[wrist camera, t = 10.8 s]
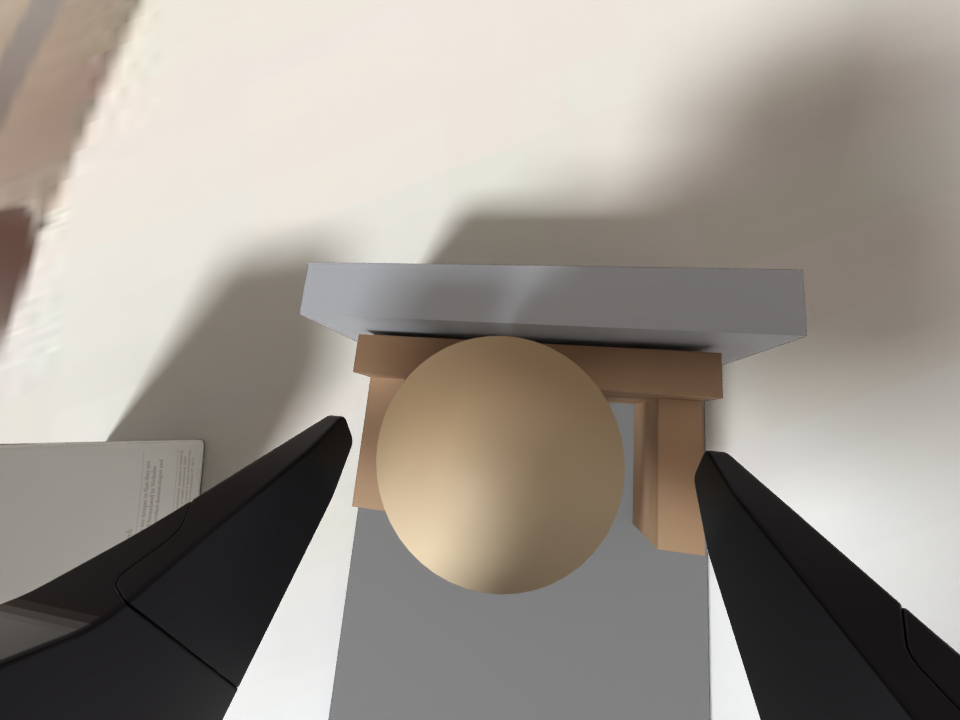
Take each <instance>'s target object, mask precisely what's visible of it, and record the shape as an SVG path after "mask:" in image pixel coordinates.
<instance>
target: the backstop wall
mask: <svg viewBox="0 0 960 720" xmlns="http://www.w3.org/2000/svg"><path fill="white" fill-rule="evenodd" d="M300 315H302V316H304V317H306V318H308V319H310V320H313V321H315V322H317V323H319V324H321V325H323V326H325V327H327V328H329V329H331V330H333V331H336V332H338V333H340V334H342V335H344V336H346V337H348V338H350V339H352V340H354V341H356V342H358V336H359V334H367V335H386V336H405V337H425V338H444V339H463V340H469V339H473V338H478V337H486V336H510V337H518V338H523V339H527V340H531V341H535V342H537V343H541V344H560V345H579V346H599V347H618V348H637V349H657V350H676V351H695V352H715V353H722V365H724V364H727V363H730V362H733V361H736V360H739V359H742V358H745V357H748V356H750V355H753V354H756V353H759V352H762V351H765V350H768V349H771V348H774V347H776V346H779V345H782V344H785V343H788V342H791V341H794V340H797V339H800V338H802V337H805V336H807V330H806V315H805V300H804V285H803V270H791V269H726V268H661V267H595V266H530V265H465V264H400V263H334V262H309V264H308V270H307V275H306V281H305V286H304V292H303V297H302V303H301V308H300Z"/></svg>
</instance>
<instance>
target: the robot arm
mask: <svg viewBox="0 0 960 720" xmlns="http://www.w3.org/2000/svg"><path fill="white" fill-rule="evenodd" d="M351 446H352V436H351V433H350V430H349V427H348V424H347V421H346V419H345V418H344V417H342V416H332V415H331V416H327V417H325V418H324V419H322V420H321V421H319V422H317V423H316V424H314V425H313V426H311V427H309V428H308V429H306V430H304V431H303V432H301V433H300V434H298V435H296V436H295V437H293V438H292V439H290V440H288V441H287V442H285V443H284V444H282V445H280V446H279V447H277V448H275V449H274V450H272V451H271V452H269V453H267V454H266V455H264V456H263V457H261V458H259V459H258V460H256V461H254V462H253V463H251V464H250V465H248V466H246V467H245V468H243V469H242V470H240V471H238V472H237V473H235V474H233V475H232V476H230V477H229V478H227V479H225V480H224V481H222V482H221V483H219V484H217V485H216V486H214V487H212V488H211V489H209V490H208V491H206V492H204V493H203V494H201V495H200V496H198V497H196V498H195V499H193V500H192V502H188V503H186V504H185V505H183V506H182V507H180V508H178V509H177V510H175V511H174V512H172V513H170V514H169V515H167V516H165V517H164V518H162V519H160V520H159V521H157V522H155V523H154V524H152V525H150V526H149V527H147V528H145V529H144V530H142V531H140V532H138V533H136V534H135V535H133V536H131V537H129V538H128V539H126V540H124V541H122V542H121V543H119V544H117V545H115V546H113V547H112V548H110V549H108V550H106V551H104V552H102V553H101V554H99V555H97V556H95V557H93V558H92V559H90V560H88V561H86V562H84V563H82V564H81V565H79V566H77V567H75V568H73V569H72V570H70V571H68V572H66V573H64V574H62V575H61V576H59V577H57V578H55V579H53V580H52V581H50V582H48V583H46V584H44V585H42V586H40V587H39V588H37V589H35V590H33V591H31V592H29V593H26V594H24V595H22V596H20V597H17V598H15V599H12V600H10V601H7V602H4V603H2V604H0V720H223V718H224V715H225V713H226V711H227V709H228V707H229V705H230V703H231V701H232V699H233V697H234V695H235V693H236V691H237V687H238V686H239V685H240V683H241V681H242V679H243V677H244V675H245V673H246V671H247V669H248V667H249V664H250V662H251V660H252V658H253V656H254V654H255V652H256V650H257V648H258V646H259V644H260V642H261V640H262V638H263V636H264V634H265V632H266V630H267V628H268V626H269V624H270V622H271V620H272V618H273V616H274V614H275V612H276V610H277V608H278V606H279V604H280V602H281V600H282V598H283V596H284V594H285V592H286V590H287V588H288V586H289V584H290V582H291V580H292V578H293V576H294V574H295V572H296V570H297V568H298V566H299V564H300V562H301V560H302V558H303V556H304V554H305V552H306V550H307V547H308V545H309V543H310V541H311V539H312V537H313V535H314V533H315V531H316V529H317V527H318V525H319V523H320V521H321V519H322V517H323V515H324V513H325V511H326V509H327V507H328V505H329V503H330V501H331V499H332V496H333V494H334V492H335V489H336V486H337V484H338V481H339V478H340V476H341V473H342V470H343V468H344V465H345V462H346V460H347V457H348V454H349V452H350V449H351ZM694 483H695V488H696V494H697V499H698V504H699V509H700V514H701V520H702V525H703V530H704V535H705V540H706V544H707V549H708V552H709V556H710V559H711V563H712V566H713V569H714V572H715V575H716V579H717V582H718V585H719V588H720V591H721V594H722V598H723V601H724V604H725V607H726V610H727V614H728V617H729V620H730V623H731V626H732V630H733V633H734V636H735V639H736V642H737V645H738V649H739V652H740V655H741V658H742V661H743V665H744V668H745V671H746V674H747V677H748V681H749V684H750V687H751V690H752V693H753V697H754V700H755V703H756V706H757V709H758V712H759V716H760V719H761V720H960V654H959V653H957V652H956V651H955V650H954V649H953V648H952V647H950V646H949V645H948V644H947V643H946V642H944V641H943V640H942V639H941V638H940V637H939V636H937V635H936V634H935V633H934V632H933V631H931V630H930V629H929V628H928V627H927V626H926V625H925V624H923V623H922V622H921V621H920V620H919V619H918V618H917V617H915V616H914V615H913V614H912V613H911V612H910V611H908V610H907V609H905V608H902V607H901V604H900V603H899V602H898V601H897V600H896V599H894V598H893V597H892V596H891V595H890V594H889V593H888V592H886V591H885V590H884V589H883V588H882V587H881V586H880V585H878V584H877V583H876V582H875V581H874V580H873V579H872V578H870V577H869V576H868V575H867V574H866V573H865V572H863V571H862V570H861V569H860V568H859V567H858V566H857V565H855V564H854V563H853V562H852V561H851V560H850V559H849V558H847V557H846V556H845V555H844V554H843V553H842V552H840V551H839V550H838V549H837V548H836V547H835V546H834V545H832V544H831V543H830V542H829V541H828V540H827V539H826V538H824V537H823V536H822V535H821V534H820V533H819V532H818V531H816V530H815V529H814V528H813V527H812V526H811V525H809V524H808V523H807V522H806V521H805V520H804V519H803V518H801V517H800V516H799V515H798V514H797V513H796V512H795V511H793V510H792V509H791V508H790V507H789V506H788V505H786V504H785V503H784V502H783V501H782V500H781V499H780V498H778V497H777V496H776V495H775V494H774V493H773V492H772V491H770V490H769V489H768V488H767V487H766V486H765V485H764V484H762V483H761V482H760V481H759V480H758V479H757V478H755V477H754V476H753V475H752V474H751V473H750V472H749V471H747V470H746V469H745V468H744V467H743V466H742V465H741V464H739V463H738V462H737V461H736V460H735V459H734V458H733V457H731V456H730V455H729V454H727V453H725V452H717V451H706V452H705V453H704V454H703V456H702V459H701V461H700V463H699V466H698V468H697V470H696V472H695V477H694Z"/></svg>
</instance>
